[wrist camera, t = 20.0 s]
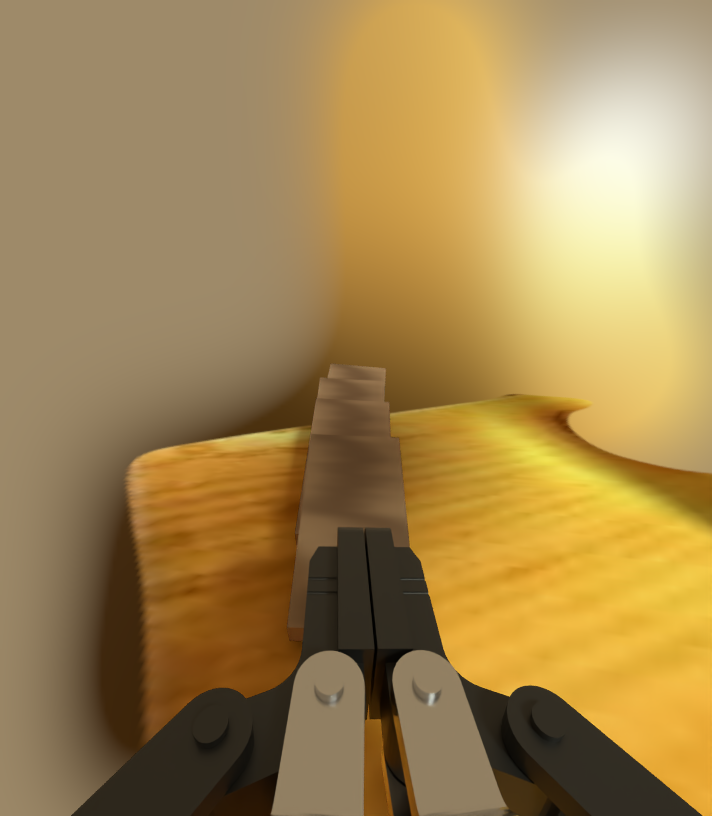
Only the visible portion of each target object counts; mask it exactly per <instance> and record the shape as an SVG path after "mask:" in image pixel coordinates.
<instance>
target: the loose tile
mask: <svg viewBox="0 0 712 816" xmlns="http://www.w3.org/2000/svg"><path fill="white" fill-rule="evenodd" d="M338 527H361V528H363V530H364V528H365V527H370V528H390V529H391V532H392V537H393V542H394V547H410V546H409V536H408V526H407V515H406V505H405V495H404V484H403V474H402V464H401V453H400V443H399V438H395V437H371V436H347V435H323V434H311V440H310V448H309V456H308V464H307V472H306V480H305V488H304V496H303V504H302V512H301V520H300V528H299V535H298V543H297V551H296V559H295V567H294V575H293V583H292V591H291V599H290V607H289V615H288V623H287V630H288V635H289V640H290V641H303V632H304V620H305V608H306V596H307V585H308V573H309V561H310V559H311V557H312V556H313V554H314V553H315V551H316V549H317V548H318V546H337V529H338Z"/></svg>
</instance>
